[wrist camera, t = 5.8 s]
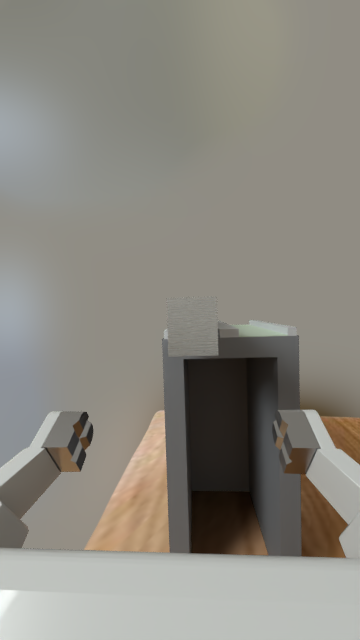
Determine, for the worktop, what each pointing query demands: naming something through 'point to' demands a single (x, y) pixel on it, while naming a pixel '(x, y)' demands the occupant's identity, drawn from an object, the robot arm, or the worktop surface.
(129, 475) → the worktop surface
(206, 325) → the brushed metal post
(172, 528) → the tall grey pillar
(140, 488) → the worktop surface
